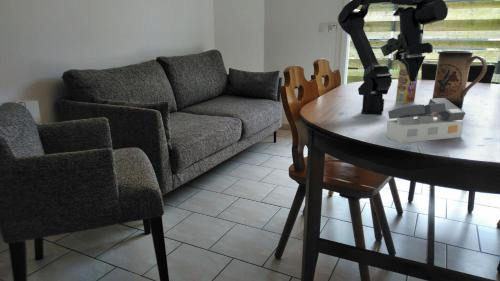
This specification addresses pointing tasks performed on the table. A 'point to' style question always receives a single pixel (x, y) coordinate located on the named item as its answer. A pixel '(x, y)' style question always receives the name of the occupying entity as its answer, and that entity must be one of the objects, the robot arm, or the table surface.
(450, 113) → the rocker
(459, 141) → the table surface
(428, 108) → the rocker
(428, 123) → the power strip
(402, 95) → the candy box
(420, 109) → the rocker
